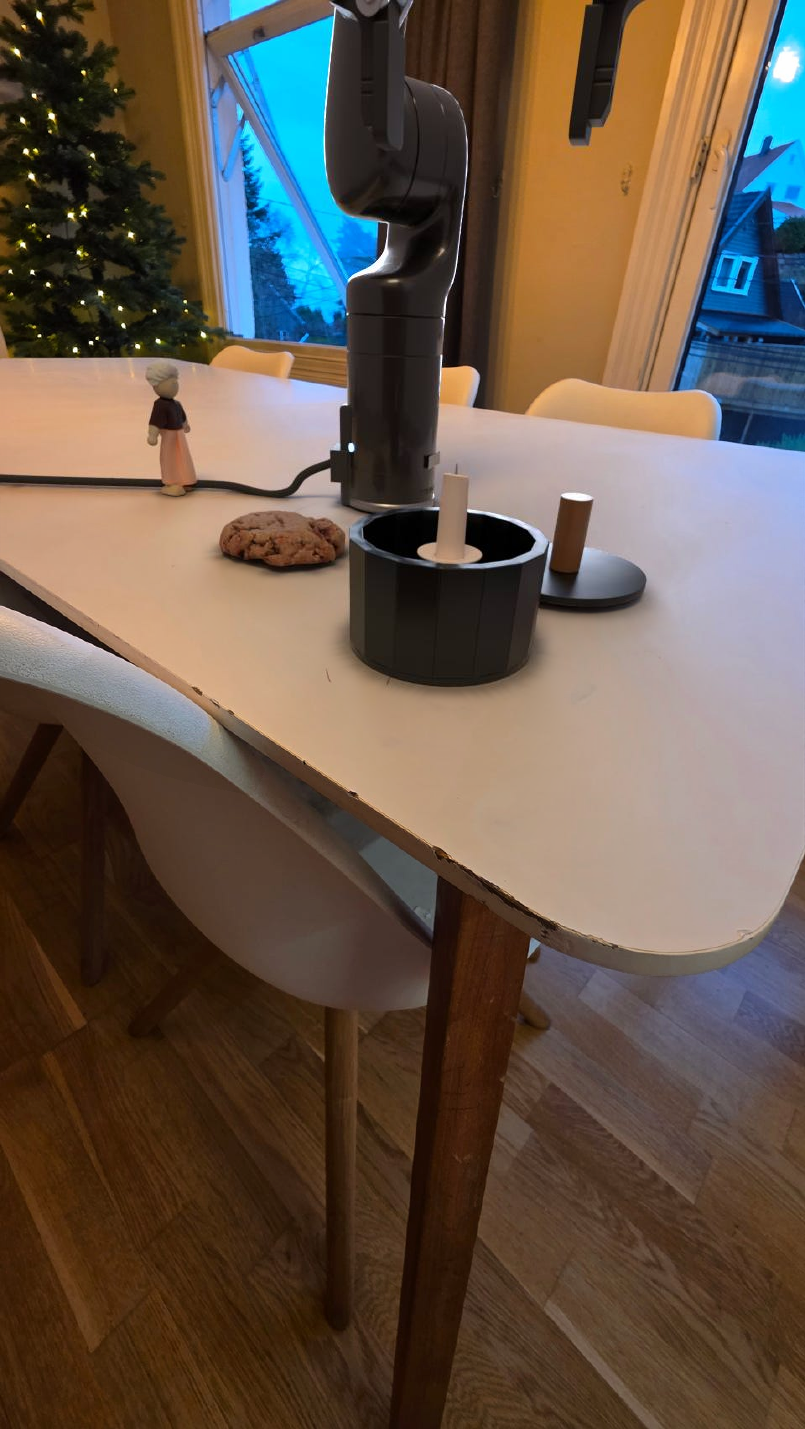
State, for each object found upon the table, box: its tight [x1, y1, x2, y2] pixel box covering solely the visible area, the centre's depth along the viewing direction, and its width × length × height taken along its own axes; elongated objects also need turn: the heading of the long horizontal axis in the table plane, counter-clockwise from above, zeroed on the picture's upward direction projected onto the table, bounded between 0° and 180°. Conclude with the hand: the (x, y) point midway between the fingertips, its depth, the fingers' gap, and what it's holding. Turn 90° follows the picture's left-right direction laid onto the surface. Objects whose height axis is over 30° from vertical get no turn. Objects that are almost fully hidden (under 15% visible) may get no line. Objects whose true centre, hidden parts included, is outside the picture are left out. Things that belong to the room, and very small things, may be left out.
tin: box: [348, 506, 550, 687], centre depth 39 cm, size 12×12×7 cm
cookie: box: [218, 510, 346, 567], centre depth 53 cm, size 10×11×3 cm
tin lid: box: [540, 492, 648, 608], centre depth 48 cm, size 13×13×7 cm
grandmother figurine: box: [145, 358, 198, 497], centre depth 66 cm, size 8×4×13 cm, turn 179°
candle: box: [417, 463, 482, 564], centre depth 37 cm, size 5×5×10 cm
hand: (478, 145), depth 27 cm, fingers open, 8 cm apart
